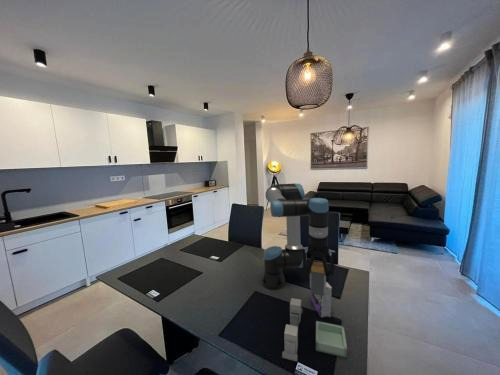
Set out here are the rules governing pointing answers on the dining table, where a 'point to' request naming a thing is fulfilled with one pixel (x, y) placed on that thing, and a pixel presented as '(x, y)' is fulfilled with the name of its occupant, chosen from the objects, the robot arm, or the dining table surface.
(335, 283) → the dining table surface
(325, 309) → the candy box
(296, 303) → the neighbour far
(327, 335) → the tray
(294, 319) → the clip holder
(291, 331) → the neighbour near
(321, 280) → the block
